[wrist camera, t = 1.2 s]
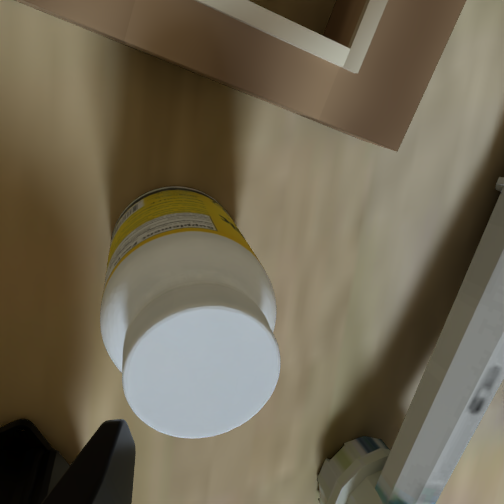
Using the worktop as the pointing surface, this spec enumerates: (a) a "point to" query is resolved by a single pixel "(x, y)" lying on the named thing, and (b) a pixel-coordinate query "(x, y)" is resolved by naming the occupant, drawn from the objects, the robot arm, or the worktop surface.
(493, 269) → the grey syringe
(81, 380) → the worktop surface
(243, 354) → the supplement bottle
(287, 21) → the block with rectangular hole
